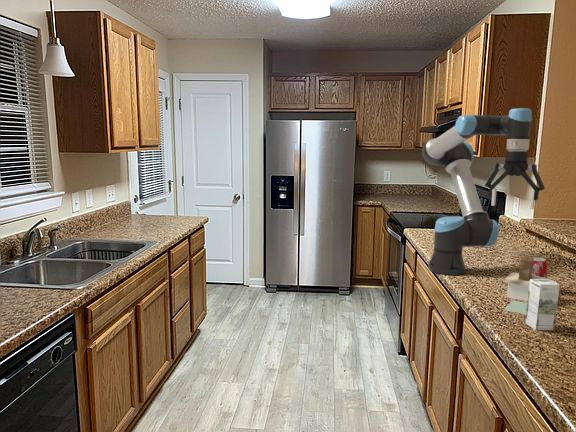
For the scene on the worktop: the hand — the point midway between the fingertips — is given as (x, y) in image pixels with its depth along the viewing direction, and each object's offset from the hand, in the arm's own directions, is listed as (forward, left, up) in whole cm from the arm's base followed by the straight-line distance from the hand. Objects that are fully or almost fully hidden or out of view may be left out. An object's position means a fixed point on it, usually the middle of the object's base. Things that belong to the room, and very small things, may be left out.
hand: (512, 207), depth 170 cm
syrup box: (+19, -39, -31) cm, 53 cm away
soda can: (+10, +1, -31) cm, 32 cm away
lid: (+9, -12, -25) cm, 29 cm away
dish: (+9, -12, -31) cm, 34 cm away
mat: (+13, -25, -31) cm, 42 cm away
